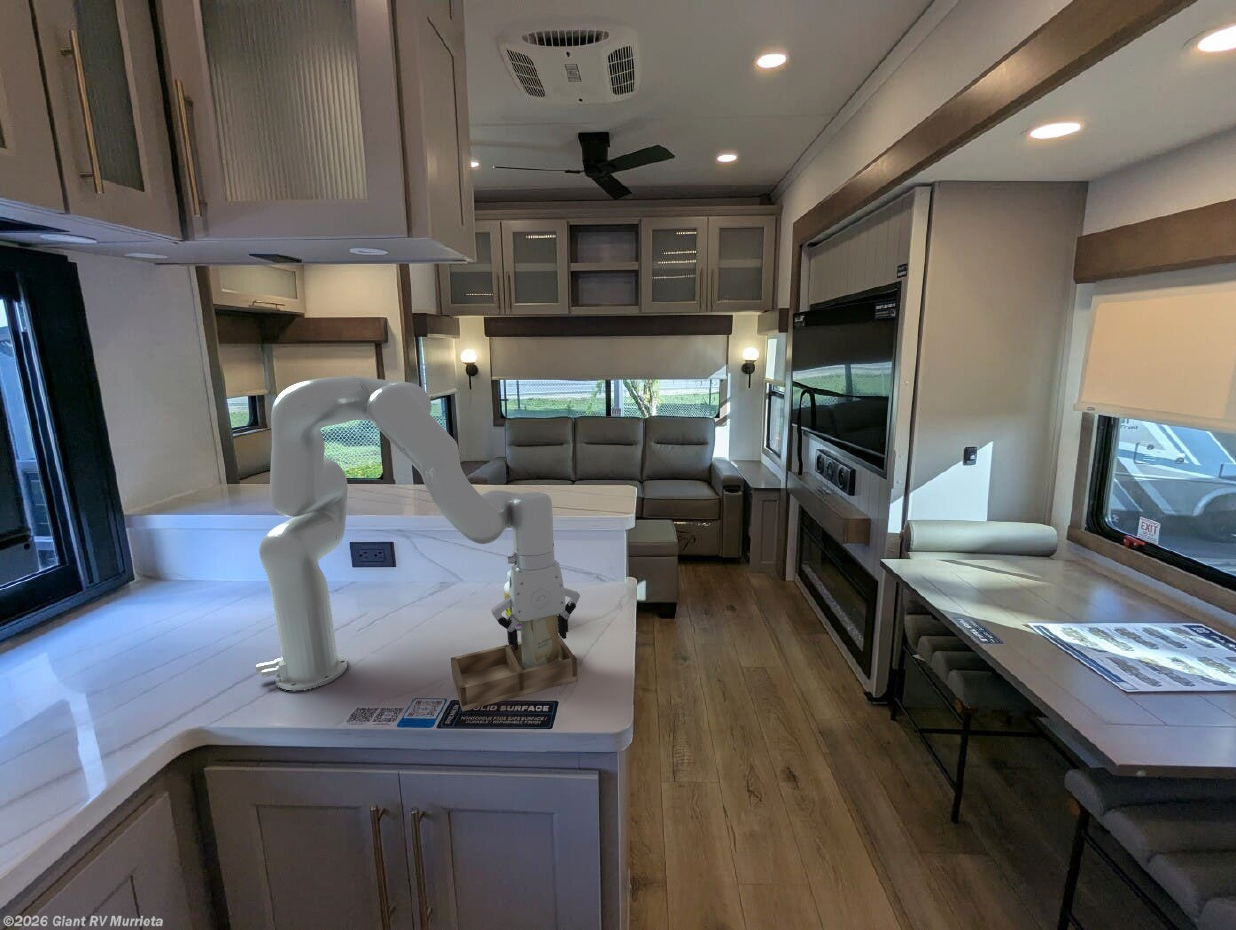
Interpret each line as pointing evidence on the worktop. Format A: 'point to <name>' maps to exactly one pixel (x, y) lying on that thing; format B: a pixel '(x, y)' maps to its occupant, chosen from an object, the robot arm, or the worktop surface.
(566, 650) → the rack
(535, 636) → the skincare box
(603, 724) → the worktop surface
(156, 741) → the worktop surface
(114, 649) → the worktop surface
